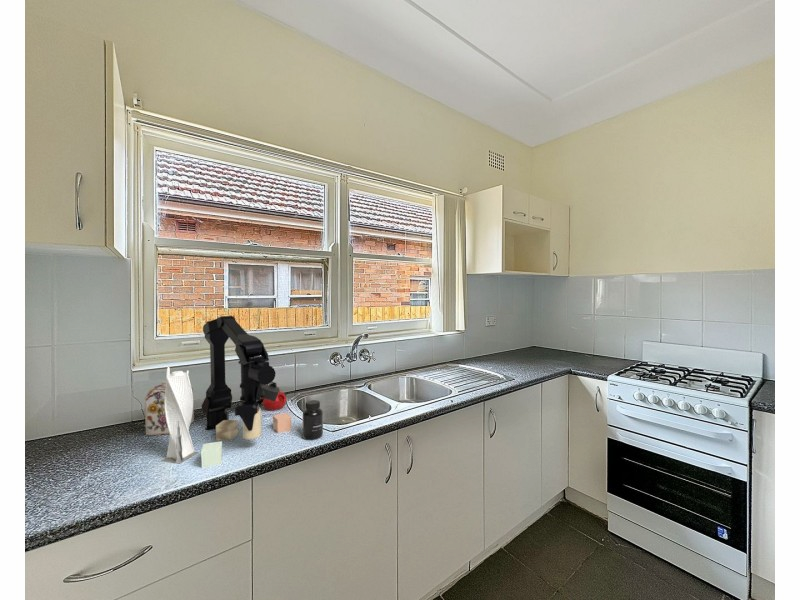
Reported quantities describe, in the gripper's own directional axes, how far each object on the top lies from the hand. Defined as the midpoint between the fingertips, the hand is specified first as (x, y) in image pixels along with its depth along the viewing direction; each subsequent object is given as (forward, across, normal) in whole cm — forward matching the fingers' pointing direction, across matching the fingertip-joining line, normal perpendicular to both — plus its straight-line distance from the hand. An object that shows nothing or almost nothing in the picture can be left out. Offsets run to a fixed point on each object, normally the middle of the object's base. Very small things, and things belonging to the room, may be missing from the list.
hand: (252, 426), depth 113 cm
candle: (+3, 0, 0) cm, 3 cm away
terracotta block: (+7, +13, -8) cm, 17 cm away
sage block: (+7, -7, +10) cm, 14 cm away
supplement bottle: (+7, +4, -19) cm, 21 cm away
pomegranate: (+7, +37, -2) cm, 38 cm away
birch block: (+7, +11, +10) cm, 16 cm away
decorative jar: (+7, +24, +32) cm, 41 cm away
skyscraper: (+8, 0, +21) cm, 22 cm away
